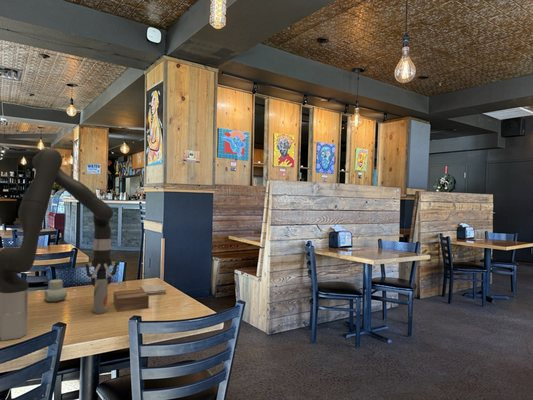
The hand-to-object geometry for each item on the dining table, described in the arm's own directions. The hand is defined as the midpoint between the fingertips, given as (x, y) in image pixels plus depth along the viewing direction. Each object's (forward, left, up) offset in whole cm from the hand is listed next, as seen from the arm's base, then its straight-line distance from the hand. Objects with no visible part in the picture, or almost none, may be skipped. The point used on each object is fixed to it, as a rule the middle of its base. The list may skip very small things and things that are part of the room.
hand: (101, 284), depth 170 cm
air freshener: (+28, +18, -13) cm, 36 cm away
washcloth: (+28, -30, -13) cm, 43 cm away
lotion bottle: (0, 0, -13) cm, 13 cm away
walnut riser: (+4, -14, -13) cm, 19 cm away
